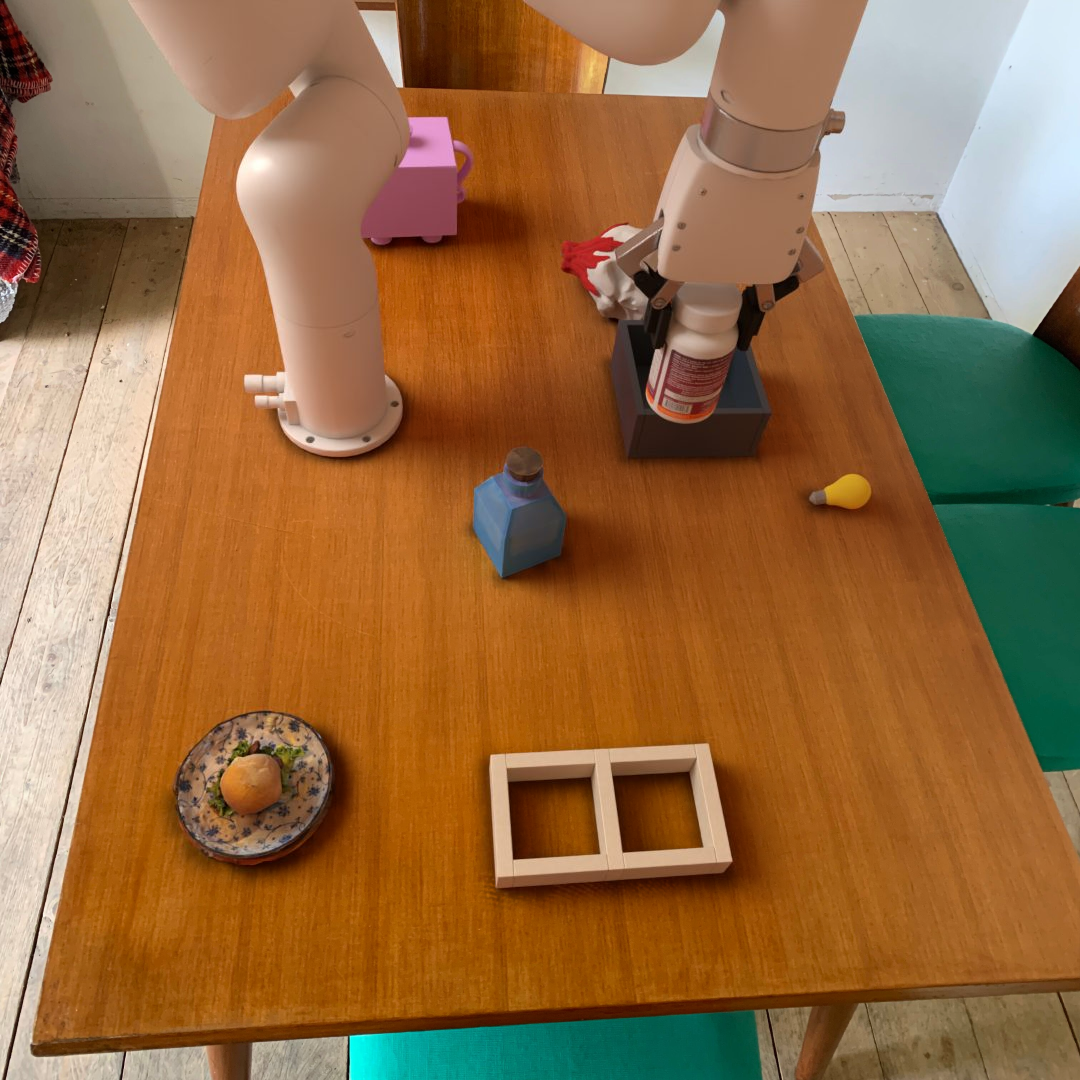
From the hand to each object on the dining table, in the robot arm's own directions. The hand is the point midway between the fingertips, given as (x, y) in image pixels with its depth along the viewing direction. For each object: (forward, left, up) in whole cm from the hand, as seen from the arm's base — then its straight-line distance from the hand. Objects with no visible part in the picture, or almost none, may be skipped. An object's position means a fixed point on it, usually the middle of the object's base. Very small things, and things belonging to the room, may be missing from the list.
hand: (697, 336), depth 73 cm
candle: (+1, +31, -23) cm, 38 cm away
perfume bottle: (-13, -4, -23) cm, 27 cm away
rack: (-8, -31, -22) cm, 39 cm away
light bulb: (+19, 0, -23) cm, 30 cm away
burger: (-35, -27, -23) cm, 50 cm away
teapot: (-25, +45, -23) cm, 57 cm away
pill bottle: (0, 0, -7) cm, 7 cm away
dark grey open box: (+6, +13, -22) cm, 27 cm away
